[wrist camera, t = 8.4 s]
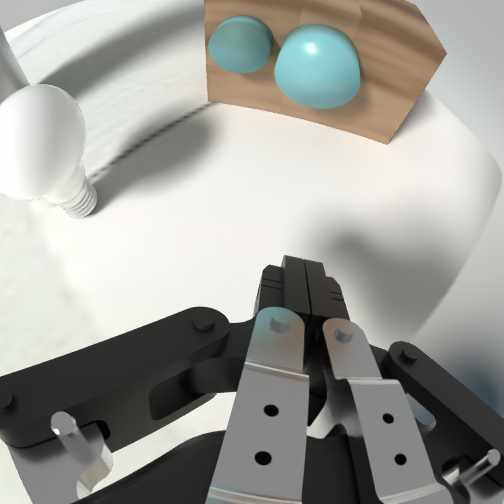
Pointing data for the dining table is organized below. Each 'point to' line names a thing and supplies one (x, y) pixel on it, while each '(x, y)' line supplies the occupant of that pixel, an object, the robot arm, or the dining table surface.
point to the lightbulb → (45, 149)
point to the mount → (346, 20)
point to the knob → (318, 66)
